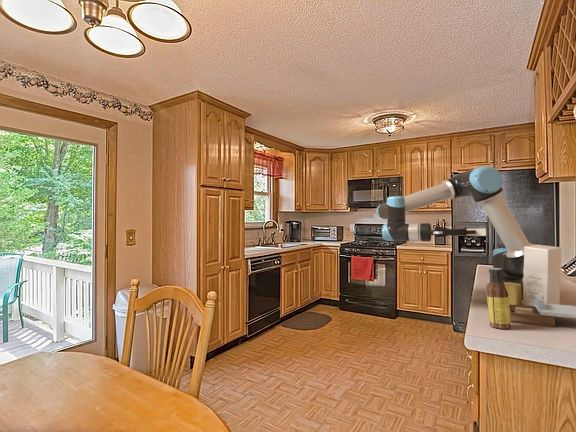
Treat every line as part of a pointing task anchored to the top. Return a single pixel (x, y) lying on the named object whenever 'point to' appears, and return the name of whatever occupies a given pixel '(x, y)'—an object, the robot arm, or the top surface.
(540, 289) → the tall white carton
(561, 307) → the lid
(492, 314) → the sauce bottle
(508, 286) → the cheese
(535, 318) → the brown flat block
